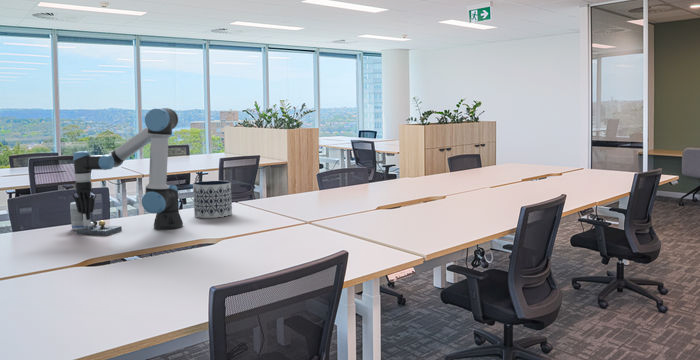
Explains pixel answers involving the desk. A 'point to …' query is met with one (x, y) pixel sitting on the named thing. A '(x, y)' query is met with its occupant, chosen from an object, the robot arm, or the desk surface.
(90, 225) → the steel ball
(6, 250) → the desk surface
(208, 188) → the planter
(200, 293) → the desk surface
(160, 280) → the desk surface
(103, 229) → the plate
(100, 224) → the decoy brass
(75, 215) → the supplement tub
